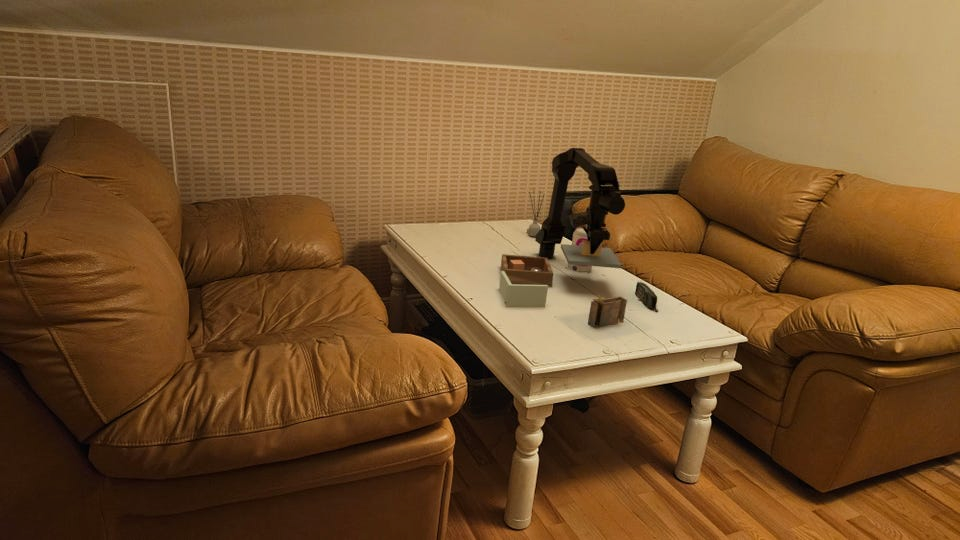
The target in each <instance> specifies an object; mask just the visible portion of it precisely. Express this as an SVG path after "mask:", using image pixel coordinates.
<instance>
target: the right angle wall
mask: <svg viewBox="0 0 960 540" xmlns="http://www.w3.org/2000/svg"><path fill="white" fill-rule="evenodd" d="M498 288H499V289H498V290H499V292H500V294H501V295H502V297H503V300H504V304H505V306H506V308H546V304H547V297H548V291H549V290H548V289H549V287H548V285H518V284H511V282H510V280H509V278H508V277H507V275H506V273H505V272H504V271H500V279H499V287H498Z"/></svg>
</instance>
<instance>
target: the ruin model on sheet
mask: <svg viewBox="0 0 960 540" xmlns="http://www.w3.org/2000/svg"><path fill="white" fill-rule="evenodd" d="M592 299H593V300H591V302H590V308H589V313H588V319H587V325H588V326H590V328H593V329H594V328H595V326H596V324H598V327H599V328H600V327H606V326H609V325H610V326H611V325H614V324H616V323H617V324H622V323H624V319H625V314H626V308H627V302H628V299H626V298H625V297H623V296H617V297H610V298H609V297H608V298H606V297H602V298H592Z"/></svg>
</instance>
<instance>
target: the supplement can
mask: <svg viewBox="0 0 960 540" xmlns="http://www.w3.org/2000/svg"><path fill="white" fill-rule="evenodd" d="M582 240H584V241H587V234H586V232H585V231H584V229H583V227H576V228H575V230H574V232H573V233H572V241H571V245H578V246H582ZM592 267H593V266H585V265H572V264H568V269H569V270H571V271H573V272H576V273H587V274H589V273H590V272H591V271H592V270H593V269H592Z"/></svg>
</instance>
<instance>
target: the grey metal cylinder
mask: <svg viewBox="0 0 960 540" xmlns="http://www.w3.org/2000/svg"><path fill="white" fill-rule="evenodd" d="M531 271H541V272H542V269H540V268H536V267H534V268H531Z"/></svg>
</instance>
